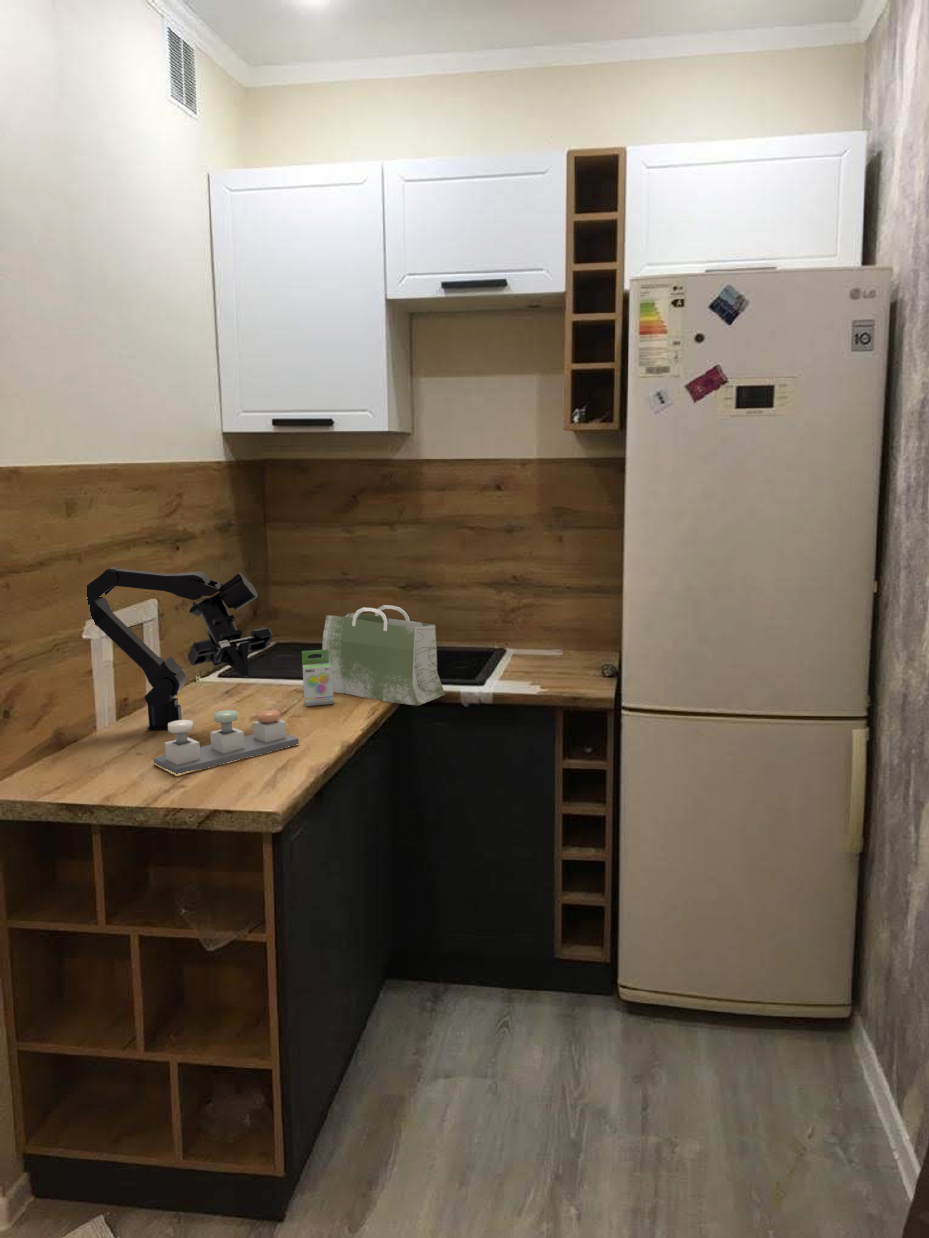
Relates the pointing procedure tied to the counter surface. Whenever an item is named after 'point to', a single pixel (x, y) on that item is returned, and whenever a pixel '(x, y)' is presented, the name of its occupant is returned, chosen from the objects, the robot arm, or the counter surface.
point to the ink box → (317, 678)
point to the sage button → (226, 720)
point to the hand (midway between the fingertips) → (246, 676)
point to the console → (225, 747)
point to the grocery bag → (383, 657)
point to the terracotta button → (268, 716)
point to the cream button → (180, 730)
